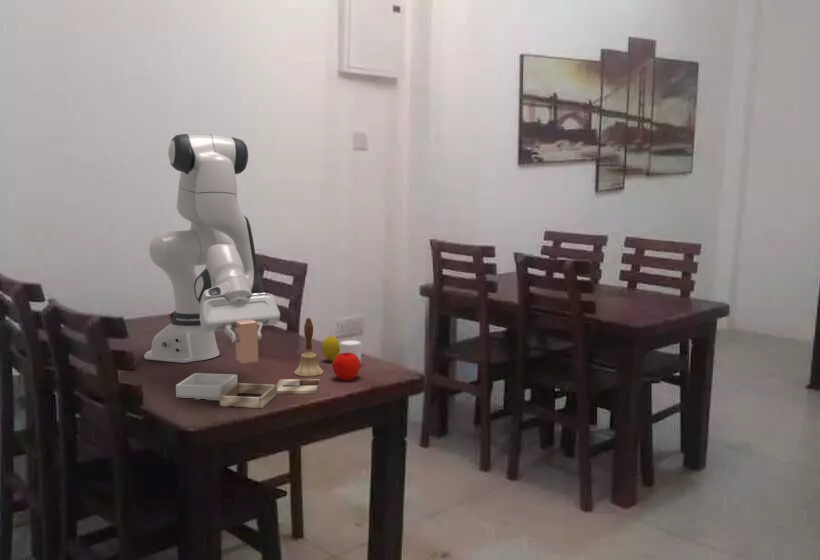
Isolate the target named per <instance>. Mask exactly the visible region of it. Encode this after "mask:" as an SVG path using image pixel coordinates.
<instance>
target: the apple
mask: <svg viewBox="0 0 820 560" xmlns="http://www.w3.org/2000/svg"><path fill="white" fill-rule="evenodd" d="M331 362H332V364H331V368H332V371H333V372H334V374H335V375H336V377H338V378H339V379H340V380H343V381H349V380H353V379H354V378H355V377H356V376H357V375H358V373H359V371H360V369H361V365H360V360H359V358H358V357H357V356H356V355H355V354H353V353H339V354H338V355H337V356H336V357H335V358H334V359H333V361H331Z"/></svg>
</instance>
